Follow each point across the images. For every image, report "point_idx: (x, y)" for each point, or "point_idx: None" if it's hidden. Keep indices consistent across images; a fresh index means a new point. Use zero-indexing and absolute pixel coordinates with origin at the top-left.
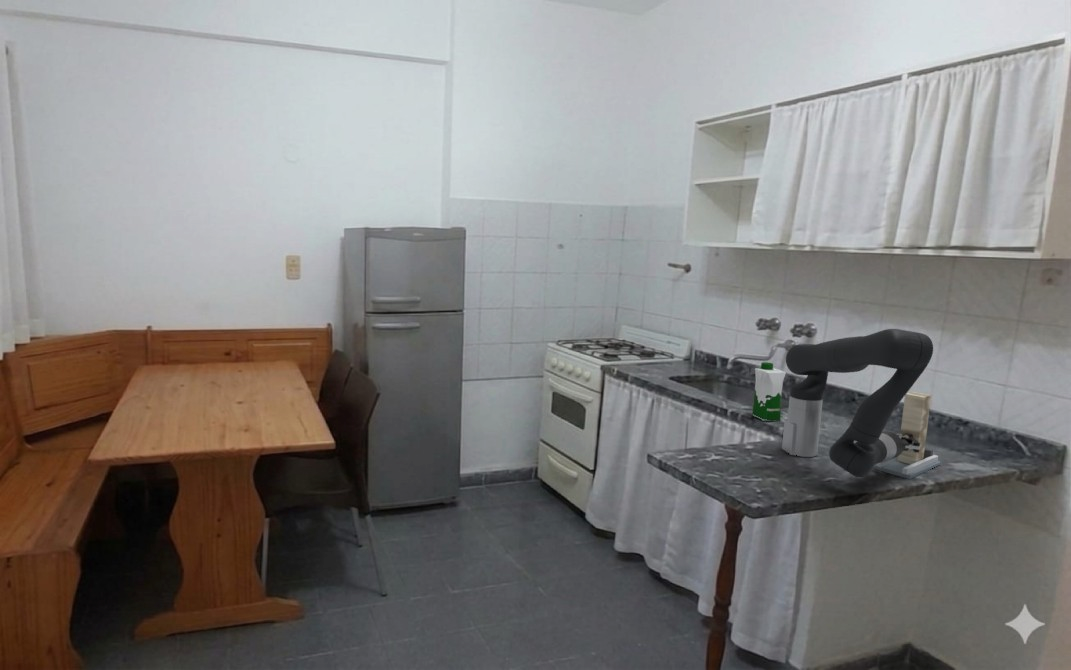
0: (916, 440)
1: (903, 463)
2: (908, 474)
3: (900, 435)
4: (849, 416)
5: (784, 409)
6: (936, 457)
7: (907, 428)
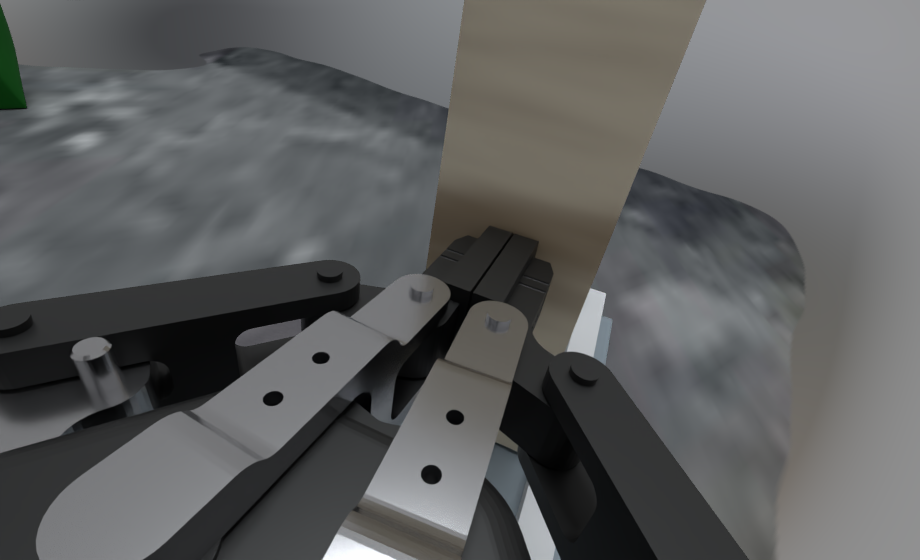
0: (684, 481)
1: None
2: None
3: (424, 322)
4: (324, 94)
5: (135, 71)
6: (601, 308)
7: (499, 179)
